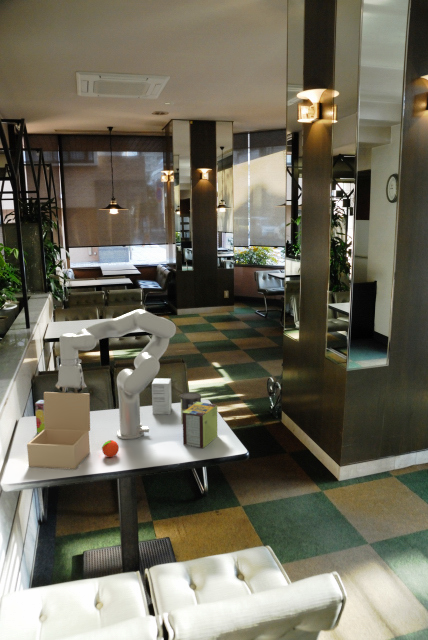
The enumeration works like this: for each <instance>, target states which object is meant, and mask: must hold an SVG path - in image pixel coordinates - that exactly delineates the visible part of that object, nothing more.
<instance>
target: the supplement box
mask: <svg viewBox="0 0 428 640" xmlns="http://www.w3.org/2000/svg"><path fill="white" fill-rule="evenodd" d="M151 382H152V383H151V398H152V399H151V402H152V405H151V406H152V407H151V408H152V415H170V414H171V411H172V407H173V406H172V379H171V378H169V377H168V378H161V377H160V378H157V377H156V378H155V377H154V378H153V380H152V381H151Z"/></svg>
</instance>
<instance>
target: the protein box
mask: <svg viewBox="0 0 428 640" xmlns="http://www.w3.org/2000/svg"><path fill="white" fill-rule="evenodd" d="M217 437H218V404H214V403H208V402H203V401H201V402H197V403H195V404H194V405H192V406H191V407H189V408H188V409H187V410H185V411H184V412H183V424H182V440H183V441H182V442H183V446H188V447H189V446H190V447H195V448H198V449H204V448H206V447H207V446H208V445H209V444H210V443H211V442H213V440H215V439H216V438H217Z"/></svg>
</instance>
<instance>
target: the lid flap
mask: <svg viewBox="0 0 428 640" xmlns="http://www.w3.org/2000/svg"><path fill="white" fill-rule="evenodd" d="M90 395H91V394H90V393H84V392H79V393H75V391H72V390H69V391H67V393H62V392H54V391H52V392H51V391H44V392H43V400H44V426H45V429H60V430H83V431H89V432H90V431H91V405H90V402H91V399H90V398H91V397H90Z"/></svg>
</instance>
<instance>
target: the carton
mask: <svg viewBox="0 0 428 640" xmlns="http://www.w3.org/2000/svg"><path fill="white" fill-rule="evenodd" d="M26 447H27V459H28V460H27V462H28V468H40V469H41V468H42V469H57V470H58V469H59V470H77V469H78V468H79V466H80V465H81V464H82V463H83V461H84V460H85V459H86V457H88V455H90V453H91V448H90V431H83V430H60V429H44V430H43V431H42V432H41V433H38V434H37V435H36V436H35V437H33V439H31V440H30V441H29V442H28V443H26Z"/></svg>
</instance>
